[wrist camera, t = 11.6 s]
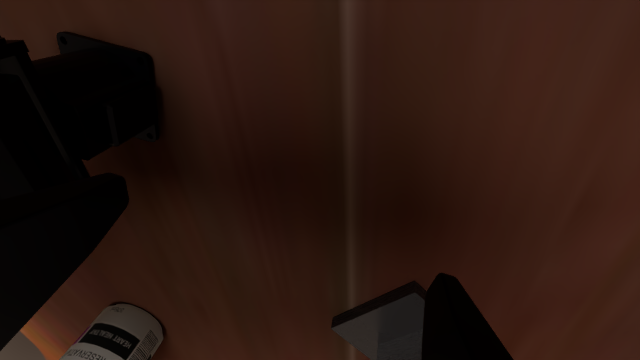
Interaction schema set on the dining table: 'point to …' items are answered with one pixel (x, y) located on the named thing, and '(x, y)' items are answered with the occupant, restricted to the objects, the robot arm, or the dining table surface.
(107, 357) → the supplement can
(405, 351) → the lock block
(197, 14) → the dining table surface
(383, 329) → the block
